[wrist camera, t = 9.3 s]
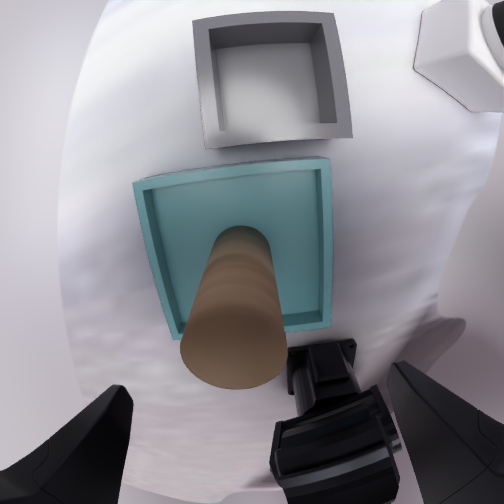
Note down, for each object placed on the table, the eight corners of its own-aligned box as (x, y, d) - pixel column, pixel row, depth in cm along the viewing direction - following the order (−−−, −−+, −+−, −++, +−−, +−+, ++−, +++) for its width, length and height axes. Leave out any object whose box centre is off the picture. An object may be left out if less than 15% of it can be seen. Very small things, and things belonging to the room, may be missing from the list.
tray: (323, 308, 22) (330, 326, 20) (179, 321, 22) (173, 339, 20) (319, 156, 17) (329, 158, 15) (146, 177, 18) (132, 182, 16)
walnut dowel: (272, 276, 20) (289, 385, 10) (217, 281, 20) (193, 390, 10) (268, 222, 18) (286, 306, 9) (208, 228, 18) (167, 315, 9)
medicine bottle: (471, 113, 15) (579, 123, 4) (411, 69, 15) (527, 39, 3) (478, 54, 13) (569, 43, 2) (421, 10, 12) (510, -34, 1)
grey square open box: (329, 138, 17) (352, 138, 13) (216, 148, 17) (205, 149, 13) (316, 38, 14) (333, 13, 10) (205, 46, 14) (192, 20, 10)
